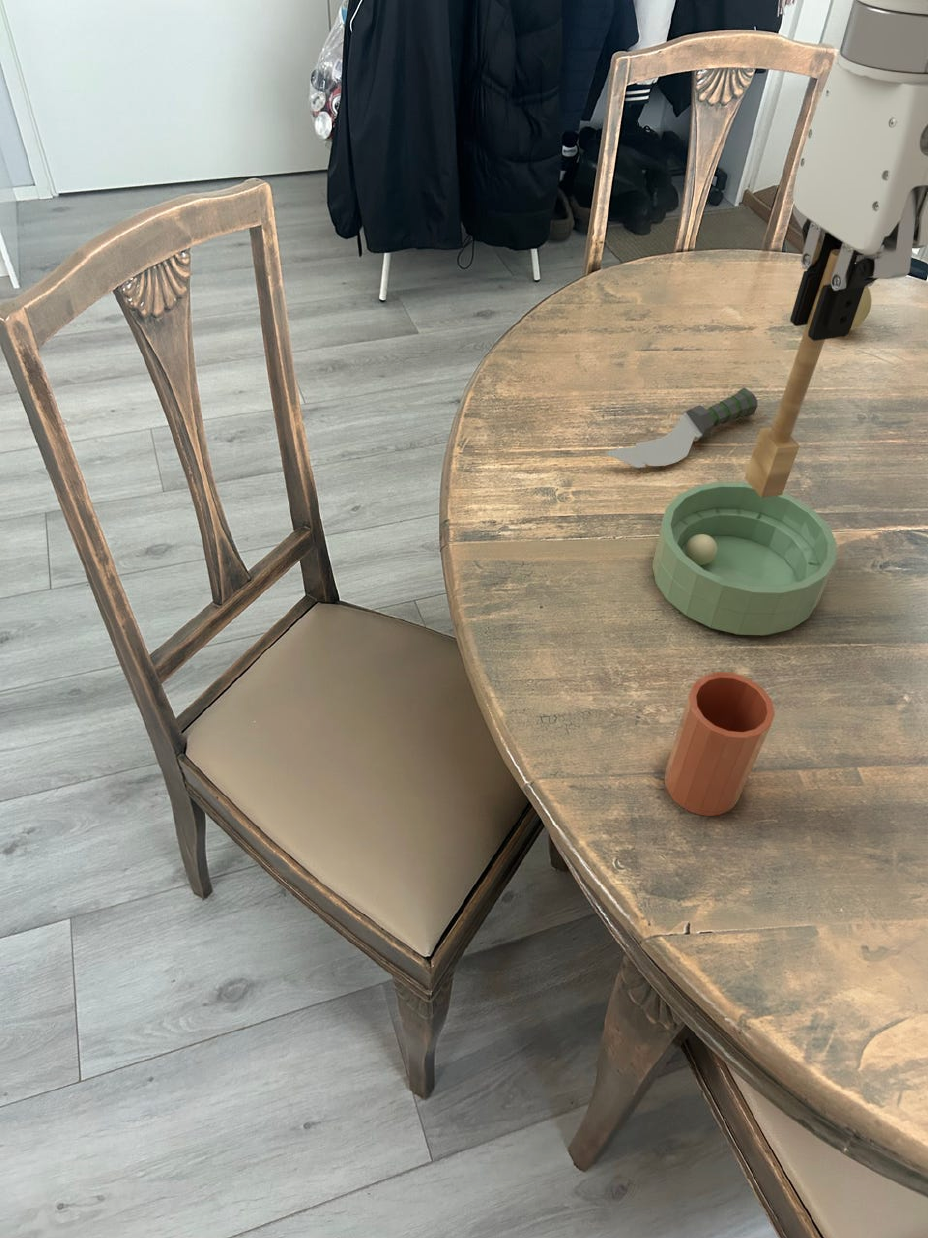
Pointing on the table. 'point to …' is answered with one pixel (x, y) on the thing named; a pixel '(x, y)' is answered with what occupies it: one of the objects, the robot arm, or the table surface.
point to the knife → (687, 432)
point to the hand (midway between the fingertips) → (818, 327)
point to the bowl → (744, 558)
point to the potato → (862, 309)
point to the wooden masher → (787, 413)
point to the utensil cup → (717, 742)
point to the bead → (701, 549)
